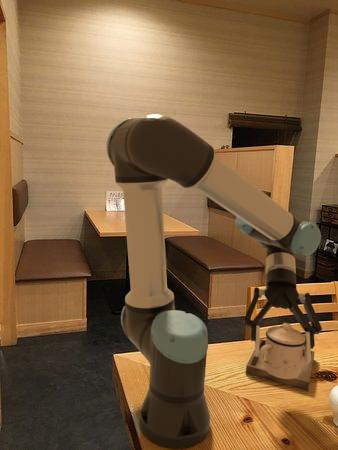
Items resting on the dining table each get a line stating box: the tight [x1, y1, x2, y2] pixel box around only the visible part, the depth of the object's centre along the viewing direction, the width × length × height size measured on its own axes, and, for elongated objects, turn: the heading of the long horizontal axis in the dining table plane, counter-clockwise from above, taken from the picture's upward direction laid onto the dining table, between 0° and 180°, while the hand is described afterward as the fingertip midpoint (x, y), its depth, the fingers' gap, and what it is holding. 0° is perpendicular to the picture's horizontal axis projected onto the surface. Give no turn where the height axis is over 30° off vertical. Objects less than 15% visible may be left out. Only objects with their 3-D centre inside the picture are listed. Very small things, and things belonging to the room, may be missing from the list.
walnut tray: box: [245, 338, 316, 392], centre depth 107 cm, size 16×18×2 cm
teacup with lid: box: [259, 322, 306, 379], centre depth 89 cm, size 12×9×12 cm
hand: (282, 358), depth 87 cm, fingers closed on teacup with lid, 11 cm apart
